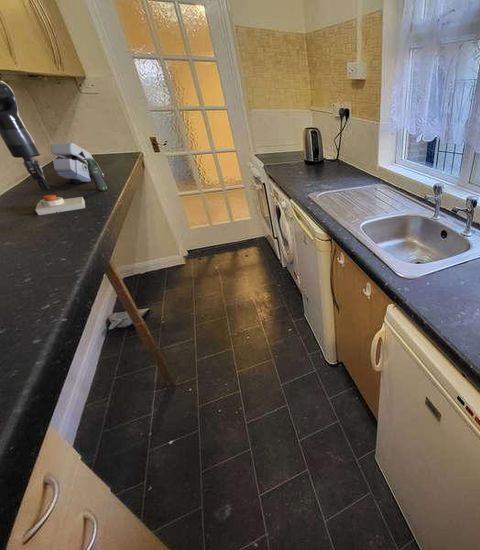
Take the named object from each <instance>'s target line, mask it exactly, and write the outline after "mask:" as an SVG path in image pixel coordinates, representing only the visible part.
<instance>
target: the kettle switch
mask: <svg viewBox="0 0 480 550" xmlns="http://www.w3.org/2000/svg"><path fill="white" fill-rule="evenodd" d="M57 197H58V196H57V195H56V194H49V195H44V196H43V199H45V201H53V200H57Z"/></svg>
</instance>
